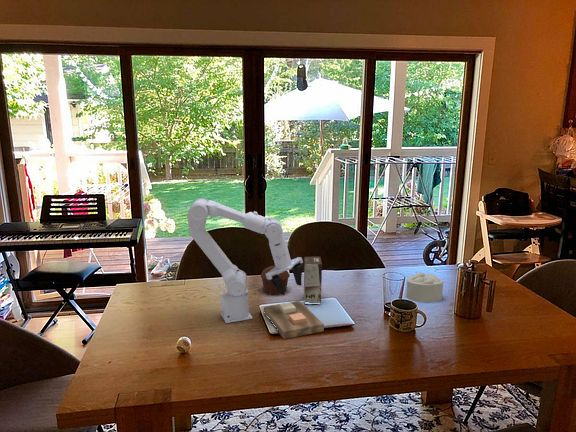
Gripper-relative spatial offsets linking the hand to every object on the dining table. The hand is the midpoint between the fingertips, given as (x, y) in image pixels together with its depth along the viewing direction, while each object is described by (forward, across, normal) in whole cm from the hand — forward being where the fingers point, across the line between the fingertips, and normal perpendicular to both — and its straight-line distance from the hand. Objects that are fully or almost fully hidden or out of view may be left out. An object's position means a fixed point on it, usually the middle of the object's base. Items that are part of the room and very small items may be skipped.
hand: (290, 289), depth 157 cm
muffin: (+8, +6, +23) cm, 25 cm away
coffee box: (+12, +12, +7) cm, 18 cm away
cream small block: (+8, -3, +1) cm, 8 cm away
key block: (+9, -5, -3) cm, 11 cm away
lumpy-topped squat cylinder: (+23, +47, -14) cm, 55 cm away
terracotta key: (+8, -6, -8) cm, 13 cm away
